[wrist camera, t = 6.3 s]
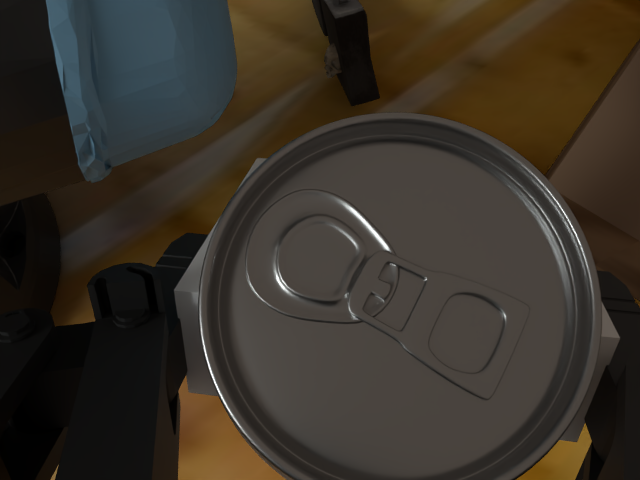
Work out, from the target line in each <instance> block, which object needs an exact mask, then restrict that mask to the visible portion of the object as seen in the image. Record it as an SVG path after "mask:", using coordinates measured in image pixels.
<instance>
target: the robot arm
mask: <svg viewBox="0 0 640 480" xmlns="http://www.w3.org/2000/svg"><path fill="white" fill-rule="evenodd" d="M236 77H237V60H236V52H235V45H234V38H233V31H232V25H231V19H230V14H229V8H228V3H227V0H0V480H50V479H51V477H52V475H53V474H54V472H55V470H56V468H57V466H58V464H59V466H58V470H57V474H56V478H55V480H178V456H179V429H180V399H179V393H178V390H179V388H180V386H181V384H182V382H183V380H184V378H185V376H187V383H188V390H189V392H191V393H198V394H206V395H214V396H218V394H217V392H216V389H215V387H214V385H213V382H212V380H211V377H210V374H209V371H208V368H207V365H206V362H205V358H204V354H203V349H202V345H201V339H200V331H199V321H198V295H199V284H200V277H201V271H202V266H203V262H204V258H205V254H206V251H207V248H208V244H209V242H210V239H211V236H212V234H213V231H214V229H215V227H216V225H217V223H218V221H219V219H220V218H219V219H218V221H217V223H216V224H215V226H214V227H213V229H212V230H211V232H210V234H209V235H204V234H194V233H186V234H184V235H183V236H181V237H180V238H178V239H176V240H175V241H173V242H172V243H171V244H170V245H169V247H168V248H167V250H166V251H165V252H164V254H163V257H161V258H160V259H159V260H158V262H157V263H156V267H152V266H149V265H145V264H142V263H125V264H119V265H114V266H112V267H109V268H107V269H104V270H102V271H100V272H99V273H98V274H96V275H95V276H93V277H92V278H91V280H90V282H89V283H88V285H87V287H88V291H89V295H90V299H91V303H92V307H93V311H94V316H95V322H89V323H83V324H74V325H65V326H56V327H55V325H54V322H53V318H52V315H51V314H49V312H50V309H51V306H52V304H53V300H54V297H55V293H56V289H57V284H58V279H59V272H60V259H61V256H60V238H59V232H58V227H57V223H56V219H55V216H54V213H53V210H52V208H51V205H50V203H49V201H48V199H47V197H46V195H45V194H44V193H45V192H48V191H51V190H54V189H57V188H61V187H64V186H67V185H70V184H73V183H77V182H80V181H83V180H86V181H87V182H88V181H89V180H90V181H91V183H94V182H98V181H101V180H102V179H104V178H105V177H106V176H108V175H109V174H110V173H111V170H112V168H113V167H115V166H118V165H120V164H123V163H126V162H128V161H131V160H134V159H136V158H139V157H142V156H144V155H147V154H150V153H152V152H155V151H158V150H160V149H163V148H166V147H168V146H171V145H174V144H176V143H179V142H182V141H184V140H187V139H190V138H192V137H195V136H197V135H199V134H200V133H202V132H203V131H205V130H206V129H208V128H209V127H211V126H212V125H213V124H214V123H215V122H216V121H217V120H218V119H219V118H220V116H221V115H222V113H223V111H224V110H225V108H226V107H227V105H228V104H229V102H230V100H231V99H232V96H233V92H234V88H235V83H236ZM265 160H266V159H265V158H257V159H256V161H255V162H254V164H253V165H252V167H251V168H250V170H249V172H248V173H247V175H246V176H245V178H244V180H243V181H242V183H241V184H240V186H241V185H242V184H243V182H244V181H245V180H246V179H247V178H248V177H249V176H250V174H251V173H252V172H253V171H254V170H255V169H256V168H257V167H258V166H260V165H261V164H262V163H263V162H264V161H265ZM240 186H239V187H240ZM238 189H239V188H238ZM238 189H237V190H238ZM235 193H236V192H235ZM220 217H221V216H220ZM597 274H598V279H599V285H600V291H601V301H602V334H601V343H600V350H599V355H598V360H597V364H596V368H595V372H594V375H593V378H592V381H591V384H590V387H589V389H588V392H587V394H586V397H585V399H584V401H583V403H582V405H581V407H580V409H579V411H578V413H577V414H576V416H575V418H574V420H573V421H572V423H571V424H570V426H569V427H568V429H567V430H566V431H565V433H564V434H563V436H562V437H561V438H560V439H559V440H565V441H572V442H577V441H578V438H579V436H580V433H581V431H582V429H583V426H584V424H585V423H586V425H587V428H588V431H589V434H590V437H591V440H592V443H591V445H590V447H589V450H588V452H587V454H586V456H585V459H584V461H583V463H582V465H581V468H580V470H579V472H578V475H577V477H576V479H575V480H640V308H639V306H638V304H637V303H635V299H634V298H633V296H632V294H631V293H630V291H629V289H628V288H627V286H626V285H625V284H624V283H623V282H621V281H620V280H619V279H618V278H616V277H615V276H614V275H613V274H612V273H610V272H609V271H598V270H597Z"/></svg>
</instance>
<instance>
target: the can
mask: <svg viewBox="0 0 640 480" xmlns="http://www.w3.org/2000/svg"><path fill="white" fill-rule="evenodd" d="M198 321H199V331H200V339H201V345H202V349H203V354H204V358H205V362H206V365H207V368H208V371H209V374H210V377H211V380H212V382H213V385H214V387H215V389H216V392H217V394H218V396H219V398H220V400H221V402H222V404H223V406H224V408H225V410H226V412H227V414H228V415H229V417H230V419H231V420H232V422H233V424H234V425H235V427H236V428H237V430H238V431H239V433H240V434H241V435H242V437H243V438H244V439H245V440H246V442H247V443H248V444H249V445H250V446H251V448H252V449H253V450H254V451H255V452H256V453H257V454H258V455H259V456H260V457H261V458H262V459H263V460H264V461H265V462H266V463H267V464H268V465H269V466H270V467H272V468H273V469H274V470H275V471H276V472H278V473H279V474H280V475H281V476H283V477H284V478H286V479H287V480H516V479H517V478H519V477H520V476H521V475H523V474H524V473H525V472H527V471H528V470H529V469H531V468H532V467H533V466H534V465H535V464H536V463H538V462H539V461H540V460H541V459H542V458H543V457H544V456H545V455H546V454H547V453H548V452H549V451H550V450H551V449H552V448H553V447H554V445H555V444H556V443H557V442H558V441H559V439H560V438H561V437H562V436H563V434H564V433H565V431H566V430H567V429H568V427H569V426H570V424H571V423H572V421H573V420H574V418H575V416H576V414H577V413H578V411H579V409H580V407H581V405H582V403H583V401H584V399H585V397H586V394H587V392H588V389H589V387H590V384H591V381H592V378H593V375H594V372H595V368H596V364H597V360H598V355H599V350H600V343H601V334H602V301H601V291H600V285H599V279H598V274H597V270H596V266H595V262H594V259H593V256H592V253H591V250H590V247H589V245H588V242H587V240H586V237H585V235H584V233H583V231H582V229H581V227H580V225H579V223H578V221H577V219H576V217H575V216H574V214H573V212H572V211H571V209H570V207H569V206H568V205H567V203H566V202H565V200H564V199H563V197H562V196H561V195H560V193H559V192H558V191H557V190H556V188H555V187H554V186H553V185H552V184H551V183H550V181H549V180H548V179H547V178H546V177H545V176H544V175H543V174H542V173H541V172H540V171H539V170H538V169H537V168H536V167H535V166H534V165H532V164H531V163H530V162H529V161H528V160H527V159H525V158H524V157H523V156H521V155H520V154H519V153H518V152H516V151H515V150H513V149H512V148H510V147H509V146H507V145H506V144H504V143H503V142H501V141H499V140H497V139H496V138H494V137H492V136H490V135H488V134H486V133H484V132H482V131H480V130H477V129H475V128H473V127H470V126H468V125H465V124H462V123H459V122H456V121H452V120H449V119H445V118H441V117H436V116H431V115H425V114H416V113H401V112H389V113H374V114H366V115H360V116H355V117H350V118H346V119H342V120H339V121H335V122H332V123H329V124H326V125H324V126H321V127H319V128H316V129H314V130H312V131H310V132H308V133H306V134H304V135H302V136H300V137H298V138H296V139H294V140H293V141H291V142H289V143H288V144H286V145H285V146H283V147H282V148H280V149H279V150H278V151H276V152H275V153H274V154H272V155H271V156H270V157H269V158H267V159H266V160H265V161H264V162H263V163H262V164H261V165H260V166H258V167H257V168H256V169H255V170H254V171H253V172H252V173H251V174H250V176H249V177H248V178H247V179H246V180H245V181H244V182H243V184H242V185H241V186H240V187H239V189H238V190H237V191H236V193H235V194H234V195H233V197H232V198H231V200H230V201H229V203H228V204H227V206H226V208H225V209H224V211H223V213H222V215H221V217H220V219H219V221H218V223H217V225H216V227H215V229H214V231H213V234H212V236H211V239H210V242H209V244H208V248H207V251H206V254H205V258H204V262H203V266H202V271H201V277H200V284H199V295H198Z"/></svg>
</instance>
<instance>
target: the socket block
mask: <svg viewBox="0 0 640 480" xmlns="http://www.w3.org/2000/svg"><path fill="white" fill-rule="evenodd" d="M545 177H546V178H547V179H548V180H549V181H550V183H551V184H552V185H553V186H554V187H555V188H556V190H557V191H558V192H559V193H560V195H561V196H562V197H563V199H564V200H565V202H566V203H567V205H568V206H569V207H570V209H571V211H572V212H573V214H574V216H575V217H576V219H577V221H578V223H579V225H580V227H581V229H582V231H583V233H584V235H585V237H586V240H587V242H588V245H589V247H590V250H591V253H592V256H593V259H594V262H595V266H596V270H598V271H609V272H610V273H612V274H613V275H614V276H615V277H616V278H618V279H619V280H620V281H621V282H623V283H624V284H625V285H626V286H627V288H628V289H629V291H630V293H631V294H632V296H633V297H634V298H636V299H637V300H639V301H640V39H639V40H638V42H637V43H636V45H635V46H634V47H633V49H632V50H631V52H630V53H629V55H628V56H627V58H626V59H625V60H624V62H623V63H622V65H621V66H620V68H619V69H618V71H617V72H616V74H615V75H614V76H613V78H612V79H611V81H610V82H609V84H608V85H607V87H606V88H605V89H604V91H603V92H602V94H601V95H600V97H599V98H598V100H597V101H596V103H595V104H594V105H593V107H592V108H591V110H590V111H589V113H588V114H587V116H586V117H585V118H584V120H583V121H582V123H581V124H580V126H579V127H578V129H577V130H576V132H575V133H574V134H573V136H572V137H571V139H570V140H569V142H568V143H567V145H566V146H565V147H564V149H563V150H562V152H561V153H560V155H559V156H558V158H557V159H556V160H555V162H554V163H553V165H552V166H551V168H550V169H549V171H548V172H547V174H546V175H545Z"/></svg>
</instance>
